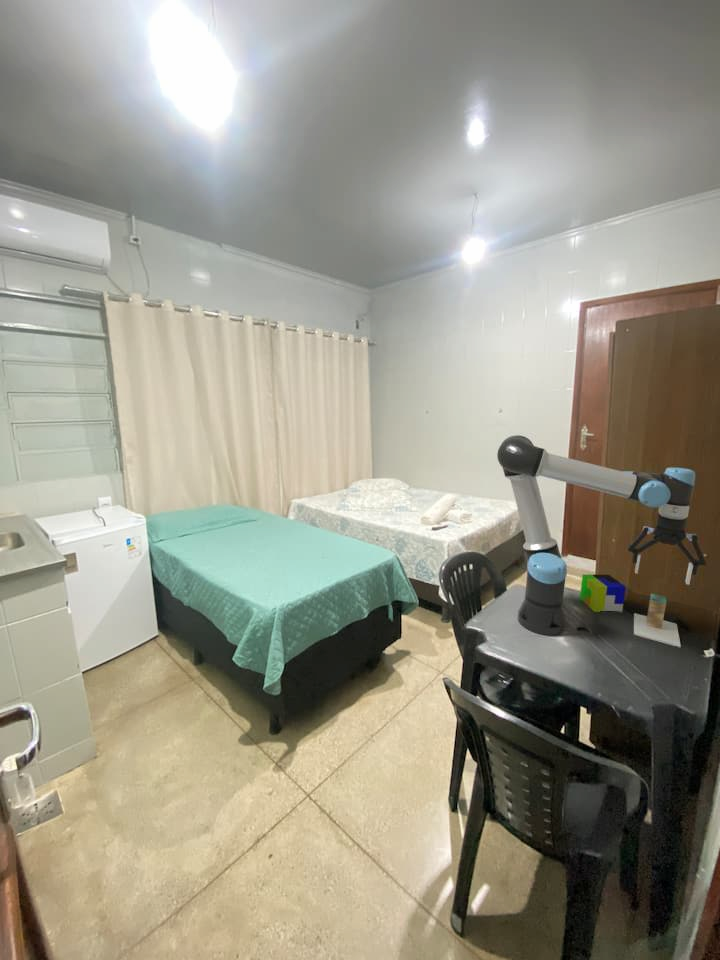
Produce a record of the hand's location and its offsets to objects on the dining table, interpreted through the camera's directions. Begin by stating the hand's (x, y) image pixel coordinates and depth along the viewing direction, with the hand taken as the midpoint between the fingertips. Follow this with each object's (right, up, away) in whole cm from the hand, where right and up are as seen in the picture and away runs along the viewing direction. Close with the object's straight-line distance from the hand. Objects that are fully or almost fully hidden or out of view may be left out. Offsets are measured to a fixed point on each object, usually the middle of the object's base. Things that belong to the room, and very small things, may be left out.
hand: (661, 577), depth 131 cm
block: (0, -17, +3) cm, 17 cm away
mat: (-1, -18, +1) cm, 18 cm away
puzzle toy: (-10, -15, +17) cm, 25 cm away
